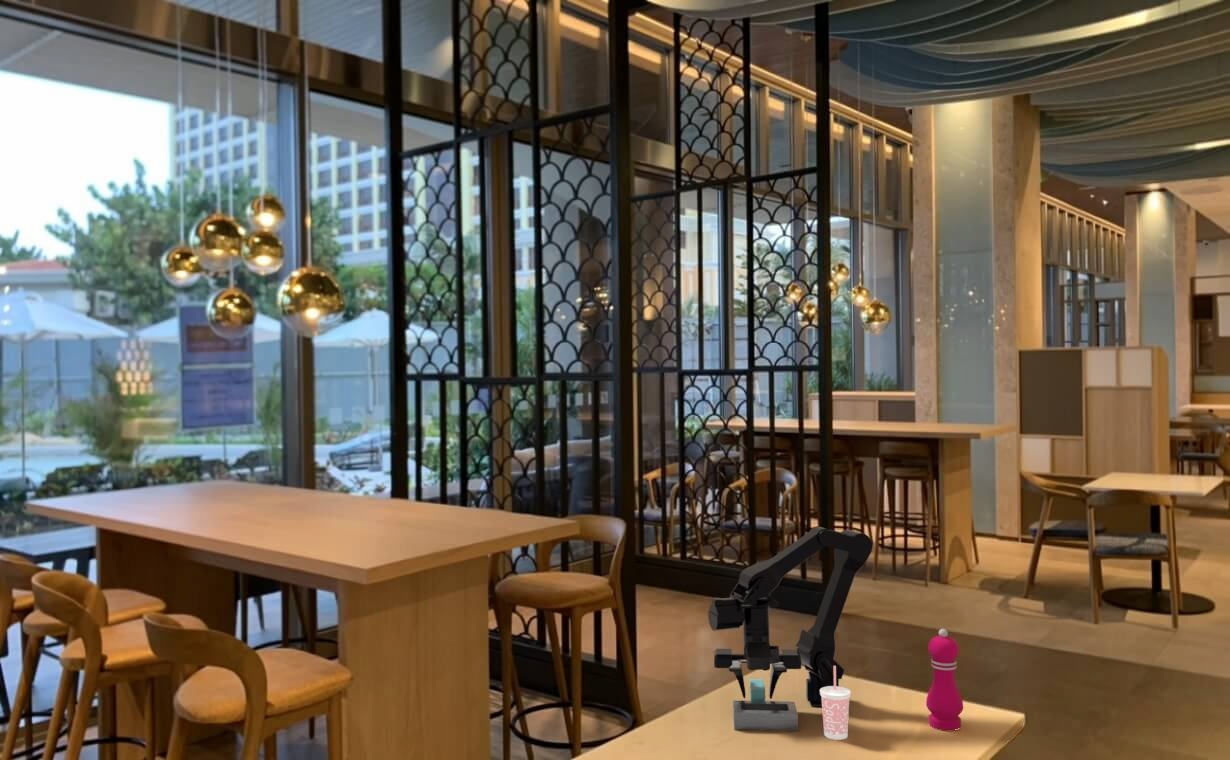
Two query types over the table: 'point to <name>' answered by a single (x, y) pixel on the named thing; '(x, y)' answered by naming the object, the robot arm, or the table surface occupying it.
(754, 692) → the light blue rectangular block
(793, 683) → the table surface
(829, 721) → the beverage cup
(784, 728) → the grey slotted tray
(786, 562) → the robot arm
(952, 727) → the pepper mill
